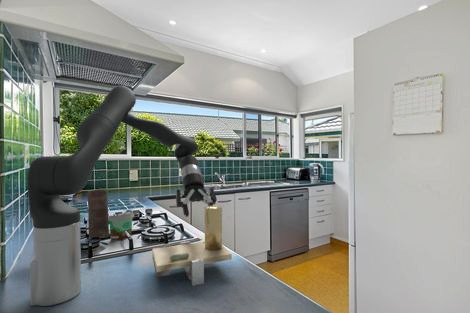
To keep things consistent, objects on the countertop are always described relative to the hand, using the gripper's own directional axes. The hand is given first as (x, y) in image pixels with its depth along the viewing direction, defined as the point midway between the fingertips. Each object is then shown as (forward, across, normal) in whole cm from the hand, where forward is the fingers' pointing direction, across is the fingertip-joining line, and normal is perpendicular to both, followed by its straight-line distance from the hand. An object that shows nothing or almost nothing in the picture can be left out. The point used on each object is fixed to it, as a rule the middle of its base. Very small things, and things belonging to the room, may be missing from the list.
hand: (199, 214), depth 88 cm
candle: (-14, +34, -32) cm, 49 cm away
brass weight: (+15, -1, +4) cm, 15 cm away
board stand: (+19, +6, 0) cm, 20 cm away
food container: (-11, +24, -30) cm, 40 cm away
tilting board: (+17, +6, +3) cm, 18 cm away
